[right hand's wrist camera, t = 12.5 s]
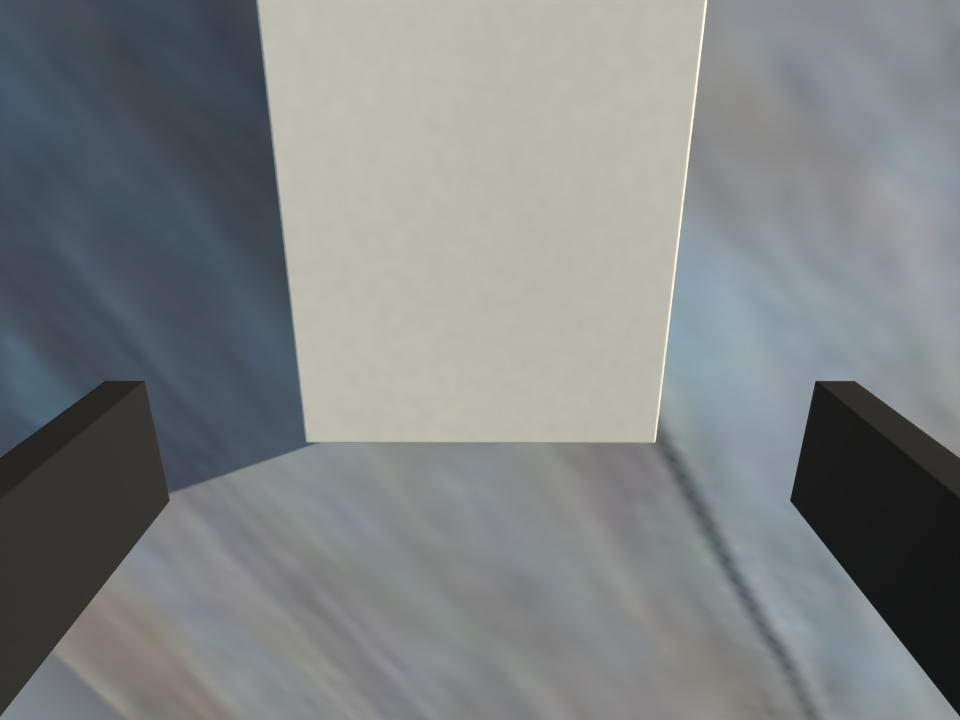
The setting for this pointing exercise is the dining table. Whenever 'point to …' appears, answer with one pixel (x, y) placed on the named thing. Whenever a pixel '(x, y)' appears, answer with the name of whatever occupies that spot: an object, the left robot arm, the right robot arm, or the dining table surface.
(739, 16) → the dining table surface
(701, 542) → the dining table surface
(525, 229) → the cabinet
